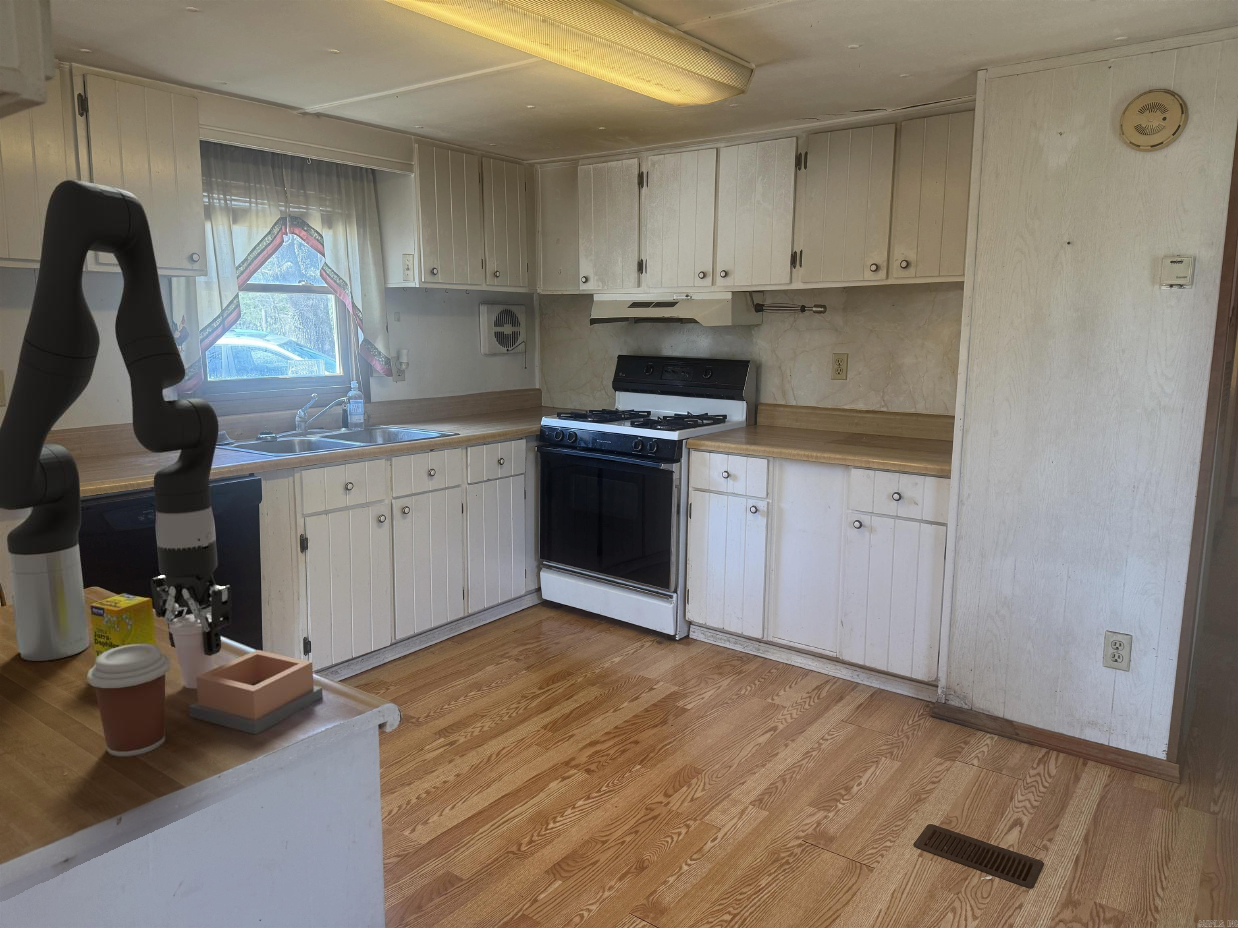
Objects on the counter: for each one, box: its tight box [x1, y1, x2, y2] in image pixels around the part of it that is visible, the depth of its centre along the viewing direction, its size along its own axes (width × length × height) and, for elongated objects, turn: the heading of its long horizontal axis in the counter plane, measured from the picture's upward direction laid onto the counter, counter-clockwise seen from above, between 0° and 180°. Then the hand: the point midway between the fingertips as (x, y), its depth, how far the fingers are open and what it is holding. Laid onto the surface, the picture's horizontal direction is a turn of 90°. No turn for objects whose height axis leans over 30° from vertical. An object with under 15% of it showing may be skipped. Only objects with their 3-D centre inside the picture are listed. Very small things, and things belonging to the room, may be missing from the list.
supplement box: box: [89, 592, 157, 661], centre depth 129 cm, size 6×6×11 cm
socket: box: [188, 649, 324, 735], centre depth 117 cm, size 12×12×6 cm
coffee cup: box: [86, 644, 171, 757], centre depth 107 cm, size 9×9×12 cm
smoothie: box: [168, 613, 215, 689], centre depth 124 cm, size 6×6×14 cm
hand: (195, 649), depth 124 cm, fingers closed on smoothie, 6 cm apart
